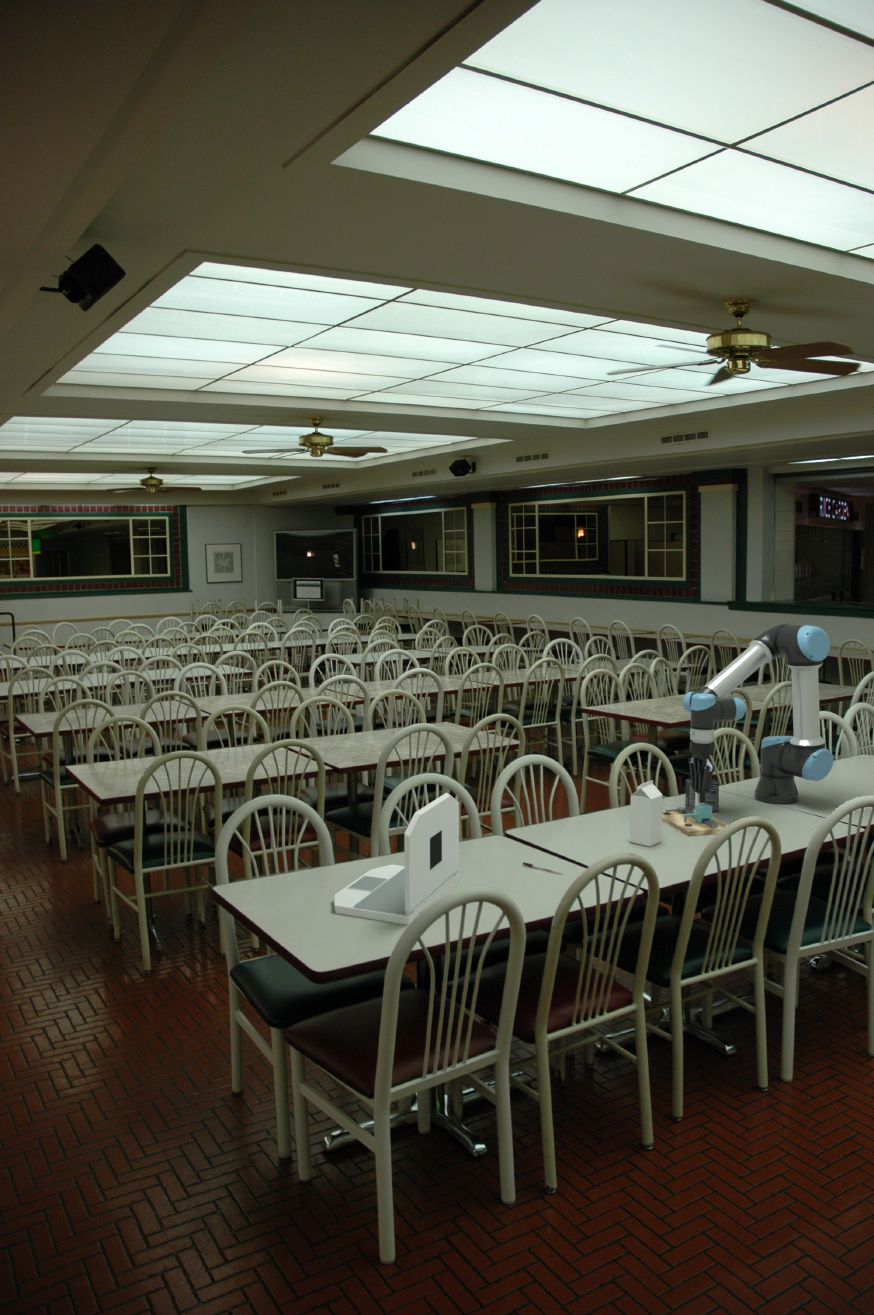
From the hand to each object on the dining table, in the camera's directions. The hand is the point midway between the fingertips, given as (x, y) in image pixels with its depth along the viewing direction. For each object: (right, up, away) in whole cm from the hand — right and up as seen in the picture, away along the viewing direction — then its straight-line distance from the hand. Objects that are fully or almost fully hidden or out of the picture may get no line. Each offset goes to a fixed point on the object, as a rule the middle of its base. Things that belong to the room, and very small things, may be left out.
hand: (699, 811), depth 306 cm
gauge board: (-2, -4, +1) cm, 5 cm away
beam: (-2, -3, +1) cm, 4 cm away
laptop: (-98, -12, -62) cm, 116 cm away
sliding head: (-2, -3, -2) cm, 4 cm away
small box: (+6, -3, +18) cm, 19 cm away
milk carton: (-22, -7, -18) cm, 29 cm away
